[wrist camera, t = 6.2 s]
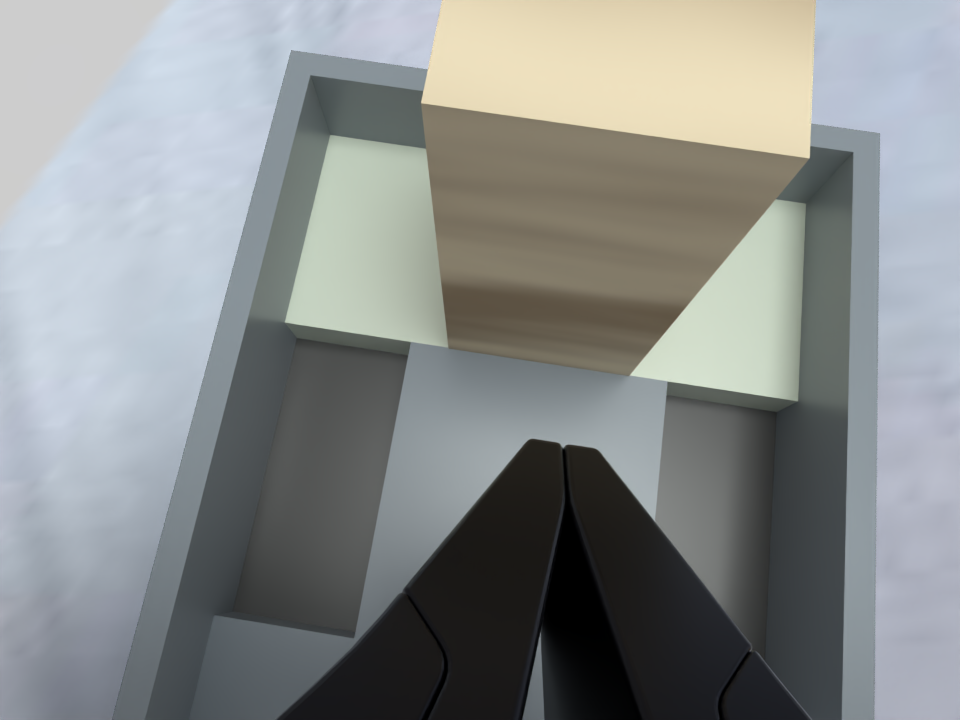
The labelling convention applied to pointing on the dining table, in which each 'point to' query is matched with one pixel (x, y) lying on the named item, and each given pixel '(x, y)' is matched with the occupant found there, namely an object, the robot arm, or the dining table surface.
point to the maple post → (604, 162)
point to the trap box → (503, 420)
